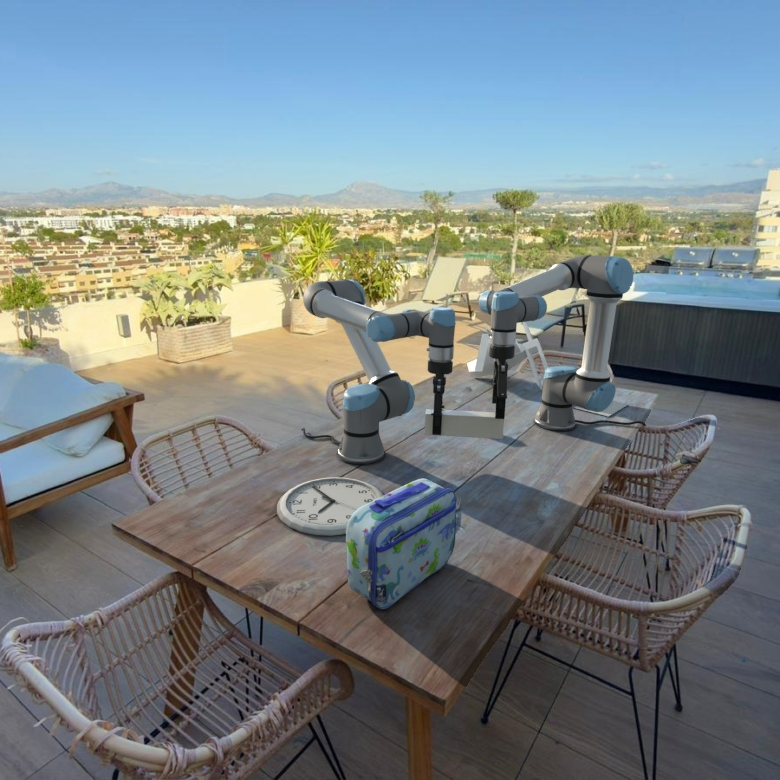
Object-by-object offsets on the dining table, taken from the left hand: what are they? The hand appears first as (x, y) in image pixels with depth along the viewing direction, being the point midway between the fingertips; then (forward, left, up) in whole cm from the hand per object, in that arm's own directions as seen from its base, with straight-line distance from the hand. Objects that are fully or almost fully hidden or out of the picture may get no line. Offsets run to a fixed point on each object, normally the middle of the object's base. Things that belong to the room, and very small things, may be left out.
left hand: (436, 431), depth 165 cm
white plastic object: (-11, +101, -12) cm, 102 cm away
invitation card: (+35, +91, -12) cm, 98 cm away
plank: (+8, +3, 0) cm, 8 cm away
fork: (+17, -26, -12) cm, 34 cm away
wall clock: (-12, -38, -12) cm, 42 cm away
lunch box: (+20, -56, -12) cm, 60 cm away
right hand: (+16, +10, +7) cm, 20 cm away
